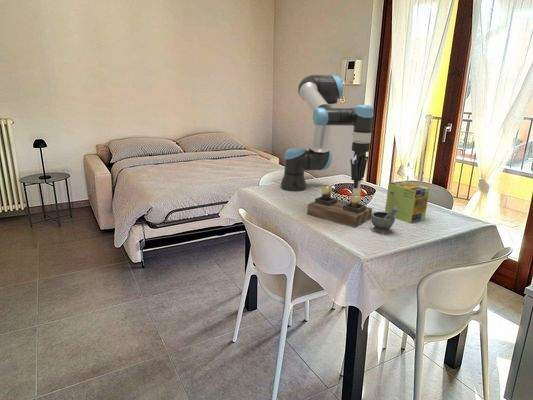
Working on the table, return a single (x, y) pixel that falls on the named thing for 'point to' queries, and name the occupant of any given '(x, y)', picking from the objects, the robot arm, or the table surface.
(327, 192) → the knob
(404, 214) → the protein box
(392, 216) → the mortar and pestle
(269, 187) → the table surface
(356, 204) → the knob
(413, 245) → the table surface
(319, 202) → the mount
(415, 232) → the table surface
